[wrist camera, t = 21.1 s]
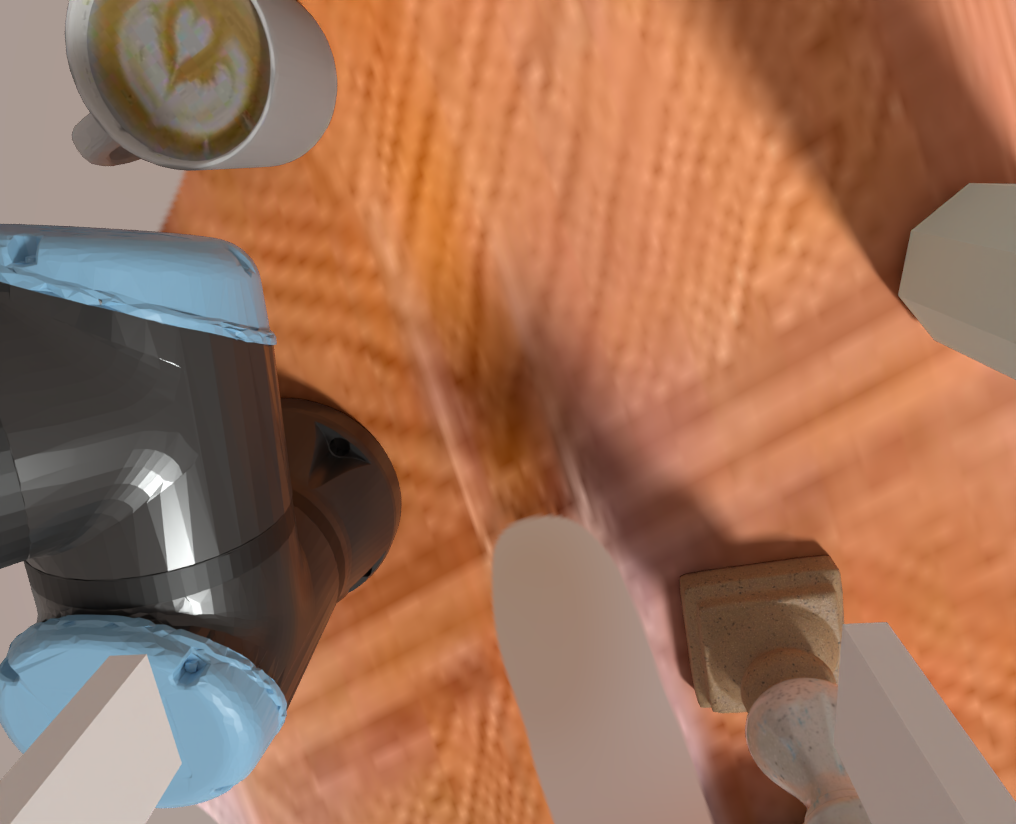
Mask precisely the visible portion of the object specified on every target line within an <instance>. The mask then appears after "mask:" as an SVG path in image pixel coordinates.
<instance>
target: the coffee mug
mask: <svg viewBox="0 0 1016 824" xmlns="http://www.w3.org/2000/svg"><path fill="white" fill-rule="evenodd" d="M65 42H66V53H67V59H68V63H69V67H70V71H71V74H72V77H73V79H74V82H75V85H76V87H77V90H78V92H79V94H80V96H81V98H82V100H83V102H84V104H85V105H86V107H87V108H88V110H89V112H90V113H89V114H88V115H87V116H86V117H84V118H83V119H82V120H81V121H80V122H79V123H78V124H77V125H76V126H75V127H74V129H73V132H72V140H73V142H74V144H75V146H76V148H77V149H78V151H79V152H80V153H81V155H82V156H83V157H84V158H85V159H87V160H88V161H89V162H90V163H92V164H96V165H101V166H115V165H119V164H125V163H130V162H133V161H136V160H139V159H143V160H145V161H148V162H151V163H153V164H156V165H159V166H162V167H167V168H171V169H178V170H213V169H232V168H251V167H271V166H278V165H282V164H285V163H288V162H291V161H293V160H295V159H297V158H299V157H301V156H302V155H304V154H305V153H306V152H308V151H309V150H310V149H311V148H312V147H313V146H314V145H315V144H316V143H317V142H318V140H319V139H320V138H321V137H322V135H323V134H324V132H325V130H326V129H327V127H328V125H329V123H330V121H331V118H332V115H333V111H334V107H335V102H336V95H337V75H336V68H335V63H334V58H333V55H332V52H331V49H330V46H329V44H328V41H327V39H326V37H325V35H324V33H323V32H322V30H321V28H320V27H319V25H318V24H317V22H316V21H315V19H314V18H313V17H312V16H311V14H310V13H309V12H308V11H307V10H306V9H305V8H304V7H303V6H302V5H301V4H299V3H298V2H297V1H296V0H69V3H68V8H67V15H66V21H65Z"/></svg>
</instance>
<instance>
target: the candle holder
mask: <svg viewBox="0 0 1016 824" xmlns="http://www.w3.org/2000/svg"><path fill="white" fill-rule="evenodd" d="M679 583H680V596H681V603H682V611H683V618H684V625H685V632H686V640H687V647H688V654H689V661H690V669H691V675H692V680H693V685H694V689H695V693H696V696H697V700H698V703H699V705H700V707H703V708H710V707H711V708H712V710H713V712H718V713H739V712H748V715H747V719H746V725H745V737H746V742H747V746H748V749H749V751H750V754H751V756H752V758H753V760H754V761H755V763H756V764H757V766H758V767H759V768H760V769H761V771H762V772H763V773H764V774H765V775H766V776H767V777H768V778H769V779H770V780H771V781H773V782H774V783H775V784H777V785H778V786H779V787H781V788H782V789H784V790H785V791H787V792H788V793H790V794H792V795H793V796H795V797H796V798H797V799H799V800H800V801H801V802H802V803H803V804H804V805H805V806H806V808H807V813H806V815H805V821H804V823H803V824H872V823H871V821H870V819H869V817H868V815H867V813H866V811H865V809H864V807H863V805H862V802H861V800H860V798H859V796H858V794H857V792H856V790H855V788H854V786H853V784H852V782H851V779H850V777H849V775H848V773H847V771H846V769H845V767H844V765H843V763H842V761H841V759H840V756H839V754H838V752H837V750H836V748H835V746H834V732H835V719H836V706H837V692H838V679H839V666H840V653H841V639H842V626H843V624H844V612H843V591H842V583H841V576H840V572H839V569H838V568H837V566H836V565H835V563H834V562H833V560H832V559H831V557H830V556H827V555H820V556H809V557H800V558H793V559H785V560H778V561H771V562H763V563H756V564H749V565H741V566H734V567H727V568H719V569H712V570H705V571H699V572H694V573H688V574H684V575H682V576H680V580H679Z"/></svg>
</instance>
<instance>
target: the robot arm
mask: <svg viewBox="0 0 1016 824" xmlns="http://www.w3.org/2000/svg"><path fill="white" fill-rule="evenodd" d="M275 344H277V341H276V336H275V334H274V333H273V332H272V331H271V330H270V327H269V321H268V316H267V311H266V305H265V300H264V294H263V289H262V284H261V278H260V274H259V271H258V269H257V267H256V265H255V263H254V262H253V260H252V259H251V258H250V256H249V255H248V254H247V253H246V252H245V251H244V250H242V249H241V248H239V247H238V246H236V245H235V244H233V243H230V242H228V241H225V240H222V239H217V238H212V237H204V236H196V235H187V234H176V233H165V232H152V231H138V230H122V229H106V228H90V227H71V226H48V225H25V224H23V225H22V224H0V569H1V568H4V567H7V566H10V565H13V564H15V563H18V562H21V561H24V564H25V568H26V571H27V574H28V578H29V582H30V586H31V590H32V593H33V596H34V600H35V603H36V607H37V612H38V618H37V623H36V624H34V625H32V626H30V627H29V628H28V629H27V630H25V631H24V632H23V633H21V634H19V635H18V636H17V637H16V638H15V639H14V640H13V642H12V643H11V644H10V648H9V651H8V653H7V656H6V658H5V659H4V660H3V662H2V663H1V664H0V723H1V725H2V727H3V728H4V730H5V732H6V733H7V735H8V737H9V738H10V739H11V741H12V742H13V743H14V745H15V746H16V747H17V748H18V749H19V750H20V751H21V752H22V753H23V755H22V756H21V758H20V759H19V760H18V761H17V762H16V763H15V765H14V766H13V767H12V768H11V769H10V770H9V771H8V772H7V773H6V775H5V776H4V777H3V778H2V779H1V780H0V824H145V823H146V822H147V820H148V818H149V817H150V815H151V814H152V812H153V810H154V809H155V808H176V807H184V806H190V805H195V804H198V803H202V802H205V801H208V800H211V799H213V798H216V797H218V796H220V795H222V794H224V793H226V792H227V791H229V790H230V789H231V788H232V787H233V786H234V785H236V784H238V783H239V782H240V781H242V780H244V779H245V778H246V777H247V776H248V775H249V774H250V773H251V771H252V770H253V769H254V768H255V766H256V765H257V763H258V762H259V760H260V759H261V757H262V755H263V754H264V752H265V751H266V749H267V748H268V746H269V745H270V743H271V741H272V740H273V738H274V737H275V735H276V734H277V733H278V732H279V731H280V729H281V727H282V725H283V724H284V722H285V718H286V716H287V709H288V707H289V704H290V702H291V700H292V698H293V696H294V694H295V692H296V689H297V687H298V685H299V683H300V681H301V679H302V676H303V674H304V672H305V670H306V668H307V666H308V663H309V661H310V659H311V657H312V655H313V653H314V651H315V648H316V646H317V644H318V642H319V640H320V638H321V635H322V633H323V631H324V629H325V627H326V625H327V623H328V620H329V618H330V616H331V614H332V612H333V609H334V607H335V605H336V603H338V602H339V601H340V600H342V599H343V598H344V597H345V596H346V595H347V594H348V593H349V592H351V591H353V590H354V589H356V588H357V587H358V586H360V585H361V584H362V583H364V582H365V581H366V580H367V579H368V578H369V577H371V576H372V575H373V573H374V572H375V571H376V570H377V569H378V567H379V566H380V565H381V563H382V562H383V560H384V559H385V557H386V555H387V553H388V552H389V549H390V547H391V544H392V542H393V540H394V537H395V535H396V532H397V529H398V526H399V522H400V516H401V492H400V487H399V482H398V479H397V476H396V473H395V470H394V468H393V466H392V463H391V462H390V460H389V458H388V456H387V454H386V453H385V451H384V450H383V448H382V447H381V446H380V444H379V443H378V442H377V441H376V440H375V439H374V437H373V436H372V435H371V434H370V433H369V432H368V431H367V430H365V429H364V428H363V427H362V426H361V425H360V424H358V423H357V422H356V421H354V420H353V419H351V418H350V417H348V416H346V415H345V414H343V413H341V412H339V411H337V410H335V409H333V408H331V407H328V406H326V405H323V404H320V403H316V402H312V401H308V400H303V399H294V398H280V392H279V385H278V377H277V369H276V361H275V353H274V345H275ZM834 746H835V748H836V750H837V752H838V754H839V756H840V759H841V761H842V763H843V765H844V767H845V769H846V771H847V773H848V775H849V777H850V779H851V782H852V784H853V786H854V788H855V790H856V792H857V794H858V796H859V798H860V800H861V802H862V805H863V807H864V809H865V811H866V813H867V815H868V817H869V819H870V821H871V823H872V824H1016V802H1015V800H1014V799H1013V798H1012V796H1011V795H1010V793H1009V792H1008V791H1007V789H1006V788H1005V786H1004V785H1003V784H1002V782H1001V781H1000V779H999V778H998V777H997V775H996V774H995V772H994V771H993V770H992V768H991V767H990V765H989V764H988V763H987V761H986V760H985V758H984V757H983V756H982V754H981V753H980V751H979V750H978V749H977V747H976V746H975V744H974V743H973V742H972V740H971V739H970V737H969V736H968V735H967V733H966V732H965V730H964V729H963V728H962V726H961V725H960V723H959V722H958V721H957V719H956V718H955V716H954V715H953V714H952V712H951V711H950V710H949V708H948V707H947V705H946V704H945V703H944V701H943V700H942V698H941V697H940V696H939V694H938V693H937V691H936V690H935V689H934V687H933V686H932V684H931V683H930V682H929V680H928V679H927V677H926V676H925V675H924V673H923V672H922V670H921V669H920V668H919V666H918V665H917V663H916V662H915V661H914V659H913V658H912V656H911V655H910V654H909V652H908V651H907V649H906V648H905V647H904V645H903V644H902V642H901V641H900V640H899V638H898V637H897V635H896V634H895V633H894V631H893V630H892V628H891V627H890V626H889V624H888V623H887V622H880V623H857V624H843V626H842V639H841V653H840V666H839V679H838V692H837V706H836V719H835V732H834Z"/></svg>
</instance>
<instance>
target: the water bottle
mask: <svg viewBox="0 0 1016 824" xmlns="http://www.w3.org/2000/svg"><path fill="white" fill-rule="evenodd" d="M898 296H899V297H900V298H901V300H902V301H903V302H904V303H905V305H906V306H907V307H908V308H909V310H910V311H911V312H912V313H913V315H914V316H915V317H916V318H917V319H918V321H919V322H920V323H921V324H922V326H923V327H924V328H925V329H926V331H927V332H928V333H929V334H930V336H931V337H932V338H933V339H934V340H935V341H937V342H939V343H941V344H943V345H945V346H947V347H949V348H951V349H953V350H956V351H958V352H960V353H962V354H964V355H966V356H968V357H970V358H972V359H974V360H976V361H978V362H980V363H982V364H984V365H986V366H988V367H990V368H992V369H994V370H996V371H998V372H1000V373H1003V374H1005V375H1007V376H1009V377H1011V378H1013V379H1015V380H1016V184H999V183H969V184H967V185H966V186H965V187H964V188H963V189H961V190H960V191H959V192H958V193H956V194H955V195H954V196H953V197H952V198H950V199H949V200H948V201H947V202H945V203H944V204H943V205H942V206H941V207H939V208H938V209H937V210H936V211H934V212H933V213H932V214H931V215H929V216H928V217H927V218H926V219H925V220H923V221H922V222H921V223H920V224H918V225H917V226H916V227H915V228H914V229H912V230H911V233H910V238H909V243H908V248H907V253H906V258H905V263H904V268H903V273H902V278H901V283H900V288H899V293H898Z"/></svg>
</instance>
